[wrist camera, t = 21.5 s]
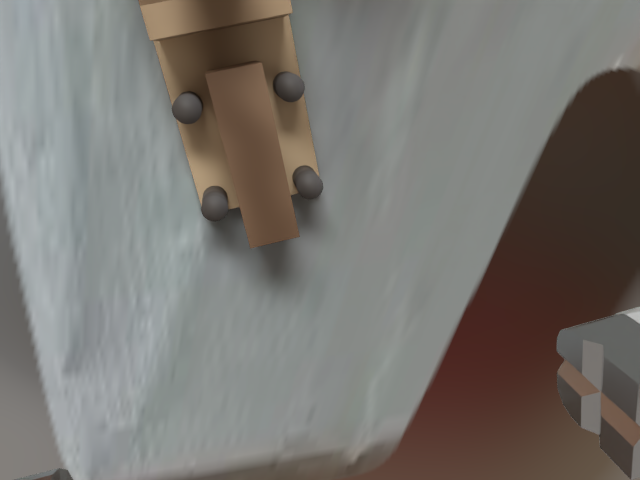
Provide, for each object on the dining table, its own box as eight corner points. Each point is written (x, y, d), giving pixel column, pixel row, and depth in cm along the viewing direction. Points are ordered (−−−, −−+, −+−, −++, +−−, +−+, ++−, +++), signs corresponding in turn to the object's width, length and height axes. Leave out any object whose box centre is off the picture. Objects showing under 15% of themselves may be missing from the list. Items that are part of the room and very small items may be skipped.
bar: (256, 60, 30) (261, 62, 26) (290, 213, 34) (299, 236, 30) (207, 70, 30) (205, 74, 26) (246, 223, 34) (250, 248, 30)
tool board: (259, -126, 28) (266, -162, 23) (318, 183, 35) (333, 205, 30) (114, -103, 27) (91, -134, 22) (204, 209, 34) (202, 236, 29)
